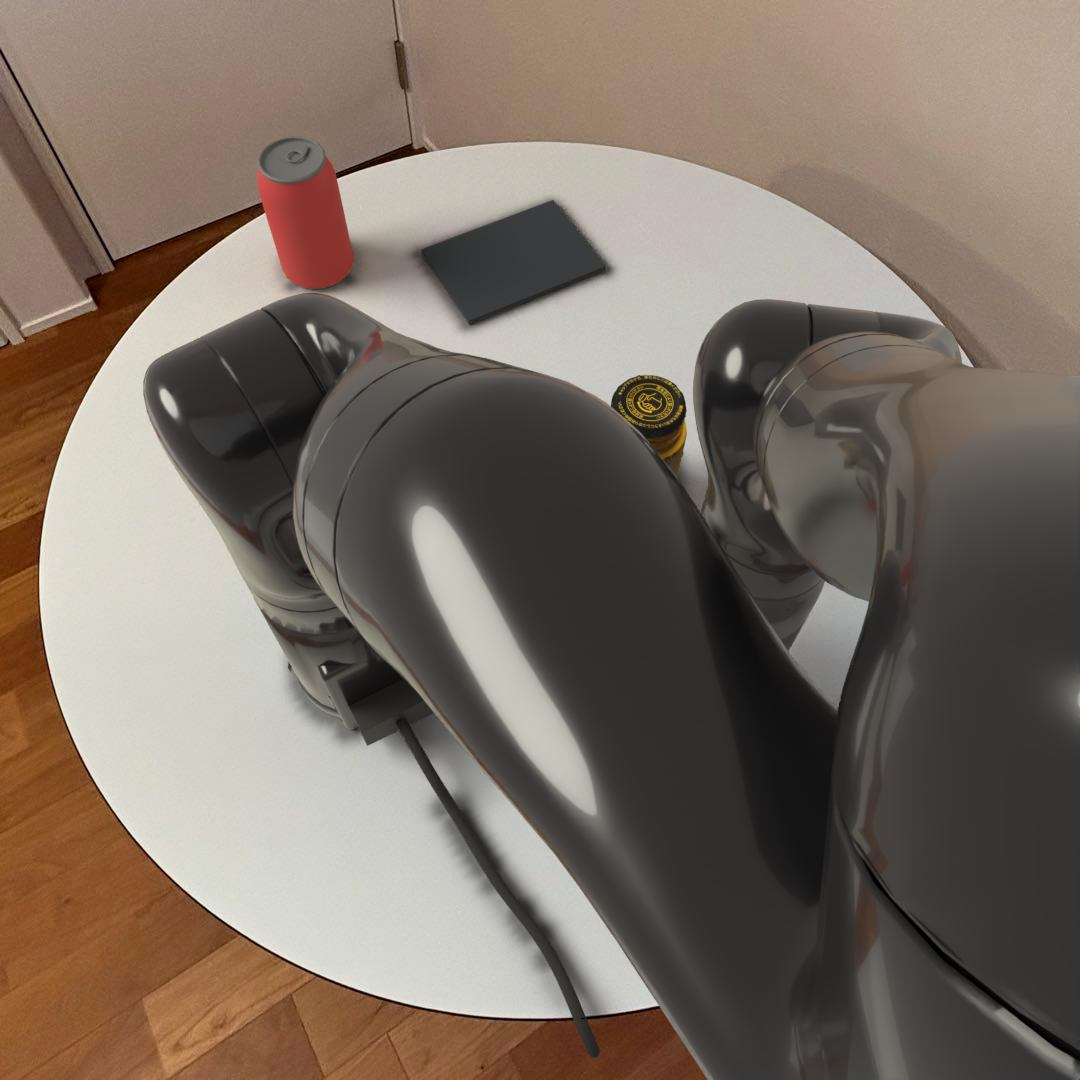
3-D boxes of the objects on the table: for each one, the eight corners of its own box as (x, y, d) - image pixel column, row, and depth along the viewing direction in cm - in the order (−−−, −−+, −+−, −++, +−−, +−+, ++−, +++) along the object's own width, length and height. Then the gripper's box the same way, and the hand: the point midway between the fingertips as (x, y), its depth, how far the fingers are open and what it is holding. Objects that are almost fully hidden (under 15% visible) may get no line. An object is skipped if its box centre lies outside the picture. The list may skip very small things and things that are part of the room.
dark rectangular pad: (605, 270, 90) (605, 265, 90) (469, 325, 87) (468, 320, 86) (553, 204, 95) (553, 199, 94) (421, 253, 91) (420, 249, 91)
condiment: (673, 459, 80) (693, 362, 69) (684, 550, 75) (708, 461, 65) (583, 462, 80) (590, 365, 69) (590, 552, 75) (598, 464, 65)
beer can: (369, 258, 91) (347, 149, 80) (324, 303, 88) (296, 196, 78) (313, 231, 93) (285, 121, 82) (268, 274, 90) (233, 165, 79)
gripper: (831, 705, 51) (765, 794, 65) (801, 474, 58) (748, 601, 72) (686, 701, 51) (653, 791, 65) (674, 471, 58) (646, 598, 73)
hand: (703, 691), depth 69 cm, fingers closed on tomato, 6 cm apart
